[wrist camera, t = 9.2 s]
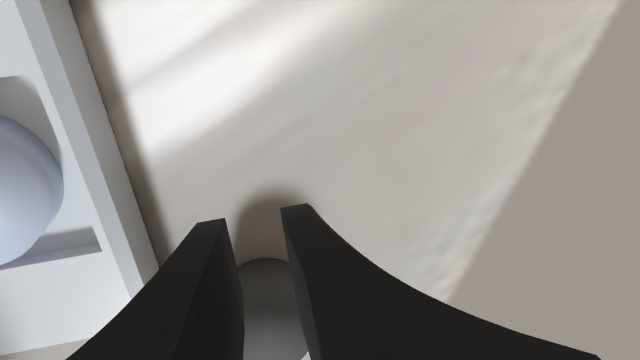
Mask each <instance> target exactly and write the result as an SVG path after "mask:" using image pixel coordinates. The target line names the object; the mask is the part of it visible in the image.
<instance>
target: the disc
mask: <svg viewBox="0 0 640 360" xmlns="http://www.w3.org/2000/svg"><path fill="white" fill-rule="evenodd" d="M63 196H64V183H63V177H62V173H61V170H60V167H59V165H58V163H57V161H56V159H55V157H54V156H53V154H52V153H51V151H50V150H49V149H48V147H47V146H46V145H45V144H44V143H43V142H42V141H41V140H40V139H39V138H38V137H37V136H36V135H35V134H34V133H32V132H31V131H30V130H29V129H27V128H26V127H24V126H23V125H21V124H19V123H18V122H16V121H14V120H12V119H10V118H8V117H6V116H3V115H1V114H0V265H2V264H5V263H8V262H10V261H12V260H14V259H16V258H18V257H19V256H21V255H22V254H24V253H25V252H26V251H27V250H29V249H30V248H31V247H32V246H33V244H34V243H35V242H36V241H37V239H38V238H39V237H40V236H41V234H42V233H43V232H44V231H45V229H46V228H47V227H48V226H49V224H50V223H51V222H52V221H53V219H54V218H55V217H56V215H57V213H58V212H59V210H60V207H61V205H62V202H63Z"/></svg>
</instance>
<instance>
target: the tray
mask: <svg viewBox="0 0 640 360" xmlns="http://www.w3.org/2000/svg"><path fill="white" fill-rule="evenodd" d="M0 114H1V115H3V116H6V117H8V118H10V119H12V120H14V121H16V122H18V123H19V124H21V125H23V126H24V127H26V128H27V129H29V130H30V131H31V132H32V133H34V134H35V135H36V136H37V137H38V138H39V139H40V140H41V141H42V142H43V143H44V144H45V145H46V146H47V147H48V149H49V150H50V151H51V153H52V154H53V156H54V157H55V159H56V161H57V163H58V165H59V167H60V170H61V173H62V177H63V183H64V196H63V202H62V205H61V207H60V210H59V212H58V213H57V215H56V217H55V218H54V219H53V221H52V222H51V223H50V224H49V226H48V227H47V228H46V229H45V231H44V232H43V233H42V234H41V236H40V237H39V238H38V239H37V241H36V242H35V243H34V244H33V246H32V247H31V248H30V249H29V250H27V251H26V252H25V253H24V254H22V255H21V256H19V257H18V258H16V259H14V260H12V261H10V262H8V263H5V264H2V265H0V356H2V355H7V354H12V353H17V352H22V351H27V350H32V349H37V348H42V347H47V346H52V345H57V344H62V343H67V342H72V341H77V340H82V339H87V338H92V337H93V336H94V335H95V334H96V333H97V332H99V331H100V330H101V329H102V328H103V327H104V326H105V325H106V324H107V323H108V322H110V321H111V320H112V319H113V318H114V317H115V316H116V315H117V314H118V313H119V312H120V311H121V310H122V309H123V308H124V307H125V306H126V305H127V304H128V303H129V302H130V301H131V299H132V298H133V297H134V296H135V295H136V294H137V293H138V292H139V291H140V290H141V289H142V288H143V287H144V286H145V284H146V283H147V282H148V281H149V280H150V279H151V278H152V277H153V276H154V275H155V274H156V272H157V271H158V270H159V266H158V263H157V260H156V257H155V254H154V251H153V248H152V245H151V242H150V239H149V236H148V233H147V230H146V227H145V225H144V222H143V219H142V216H141V213H140V210H139V207H138V204H137V201H136V198H135V195H134V192H133V189H132V186H131V183H130V180H129V177H128V175H127V172H126V169H125V166H124V163H123V160H122V157H121V154H120V151H119V148H118V145H117V142H116V139H115V136H114V133H113V130H112V127H111V125H110V122H109V119H108V116H107V113H106V110H105V107H104V104H103V101H102V98H101V95H100V92H99V89H98V86H97V83H96V80H95V77H94V74H93V72H92V69H91V66H90V63H89V60H88V57H87V54H86V51H85V48H84V45H83V42H82V39H81V36H80V33H79V30H78V27H77V24H76V22H75V19H74V16H73V13H72V10H71V7H70V4H69V1H68V0H0Z"/></svg>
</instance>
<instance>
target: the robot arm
mask: <svg viewBox="0 0 640 360" xmlns="http://www.w3.org/2000/svg"><path fill="white" fill-rule="evenodd" d="M280 210H281V217H282V223H283V229H284V234H285V240H286V246H287V251H288V257H289V263H290V268H291V274H292V279H293V285H294V291H295V296H296V302H297V308H298V313H299V319H300V322H301V326H302V330H303V333H304V337H305V340H306V344H307V347H308V351H309V355H310V358H311V360H601V359H600V358H599V357H598V356H597V355H594V354H590V353H587V352H583V351H580V350H576V349H573V348H570V347H567V346H563V345H560V344H556V343H553V342H550V341H546V340H543V339H539V338H536V337H532V336H529V335H525V334H522V333H519V332H516V331H513V330H510V329H508V328H505V327H502V326H500V325H497V324H494V323H492V322H489V321H486V320H483V319H480V318H478V317H475V316H473V315H470V314H468V313H466V312H463V311H461V310H458V309H456V308H454V307H452V306H449V305H447V304H445V303H443V302H441V301H439V300H437V299H435V298H432V297H430V296H428V295H426V294H424V293H422V292H420V291H418V290H416V289H414V288H413V287H411V286H409V285H407V284H405V283H404V282H402V281H400V280H399V279H397V278H395V277H394V276H392V275H390V274H389V273H387V272H386V271H384V270H383V269H381V268H380V267H378V266H377V265H375V264H374V263H373V262H371V261H370V260H369V259H367V258H366V257H365V256H363V255H362V254H361V253H359V252H358V251H357V250H356V249H354V248H353V247H352V246H351V245H350V244H349V243H347V242H346V241H345V240H344V239H343V238H342V237H341V236H339V235H338V234H337V233H336V232H335V231H334V230H333V229H332V228H331V227H330V226H329V225H328V224H327V223H326V222H325V221H324V220H323V219H322V218H321V217H320V216H319V215H318V214H317V212H316V211H315V210H314V209H313V207H311V206H310V205H309V204H307V203H306V204H300V205H295V206H289V207H283V208H280ZM244 336H245V323H244V305H243V290H242V286H241V282H240V278H239V274H238V270H237V266H236V262H235V258H234V253H233V249H232V245H231V241H230V237H229V233H228V229H227V225H226V221H225V218H222V219H216V220H211V221H205V222H199V223H197V224H196V225H195V226H194V227H193V228H192V230H191V231H190V232H189V233H188V235H187V236H186V237H185V238H184V240H183V241H182V242H181V243H180V245H179V246H178V247H177V248H176V250H175V251H174V252H173V253H172V255H171V256H170V257H169V258H168V259H167V261H166V262H165V263H164V264H163V265H162V267H161V268H160V269H159V270H158V271H157V272H156V274H155V275H154V276H153V277H152V278H151V279H150V280H149V281H148V282H147V283H146V284H145V286H144V287H143V288H142V289H141V290H140V291H139V292H138V293H137V294H136V295H135V296H134V297H133V298H132V299H131V301H130V302H129V303H128V304H127V305H126V306H125V307H124V308H123V309H122V310H121V311H120V312H119V313H118V314H117V315H116V316H115V317H114V318H113V319H112V320H111V321H110V322H108V323H107V324H106V325H105V326H104V327H103V328H102V329H101V330H100V331H99V332H97V333H96V334H95V335H94V336H93V337H92V338H91V339H90V340H88V341H87V342H86V343H85V344H84V345H83V346H82V347H80V348H79V349H78V350H77V351H76V352H75V353H73V354H72V355H71V356H70V357H68V358H67V359H66V360H243V352H244Z"/></svg>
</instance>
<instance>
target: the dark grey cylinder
mask: <svg viewBox="0 0 640 360" xmlns="http://www.w3.org/2000/svg"><path fill="white" fill-rule="evenodd" d="M237 270H238V274H239V278H240V282H241V286H242V290H243V305H244V323H245V336H244V352H243V360H301V359H302V358H303V357H304V356H305V354H306V353H307V352H308V347H307V344H306V340H305V337H304V333H303V330H302V326H301V322H300V319H299V313H298V308H297V302H296V296H295V291H294V285H293V279H292V274H291V268H290V264H288V263H286V262H284V261H281V260H278V259H271V258H263V259H257V260H253V261H250V262H247V263H245V264H243V265H242V266H240V267H239V268H238V269H237Z"/></svg>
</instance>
